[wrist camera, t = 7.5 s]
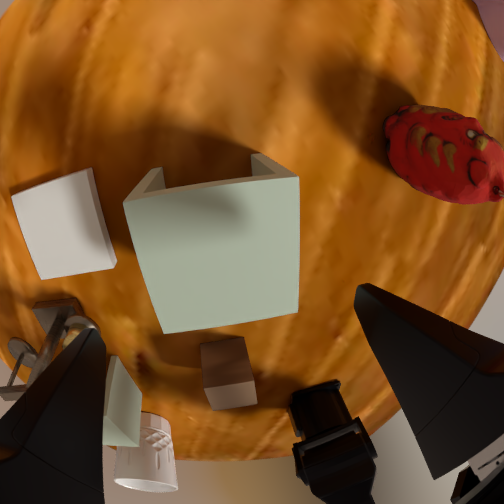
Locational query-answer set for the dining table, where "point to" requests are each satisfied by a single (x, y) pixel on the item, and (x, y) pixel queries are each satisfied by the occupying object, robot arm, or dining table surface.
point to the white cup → (148, 458)
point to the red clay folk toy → (445, 154)
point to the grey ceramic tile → (65, 226)
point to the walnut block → (227, 374)
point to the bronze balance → (46, 340)
